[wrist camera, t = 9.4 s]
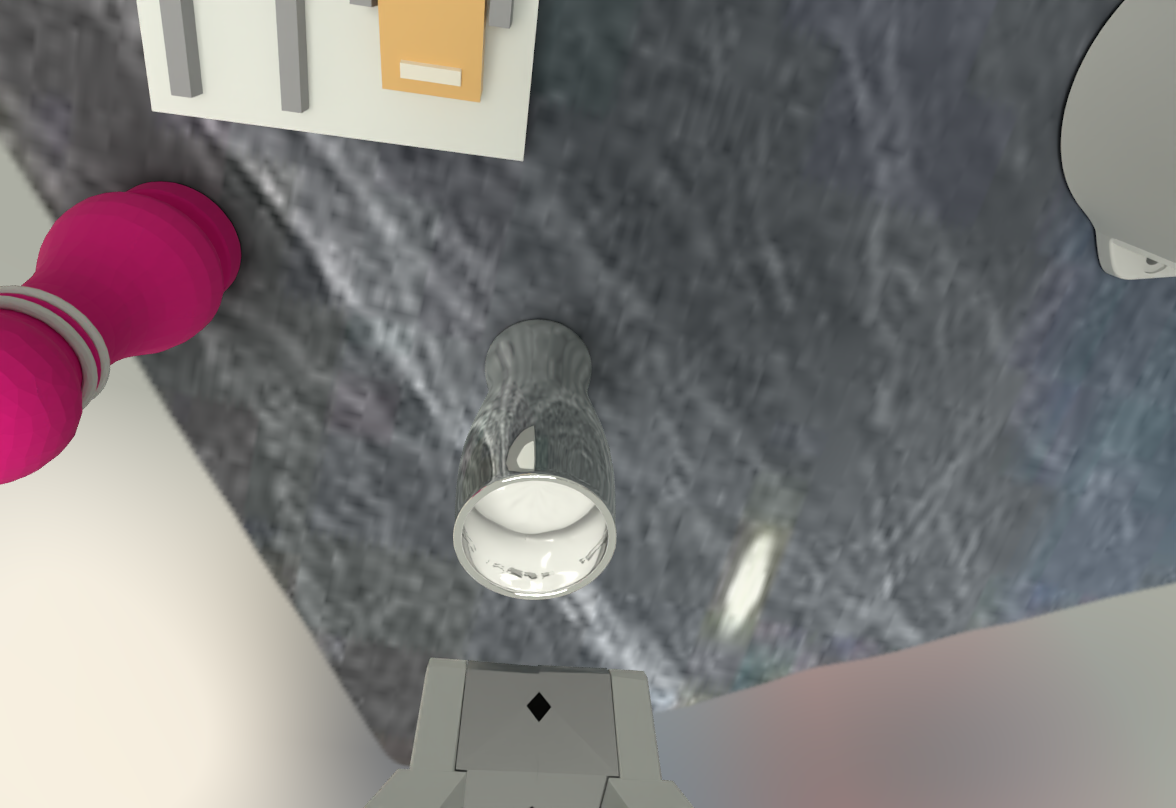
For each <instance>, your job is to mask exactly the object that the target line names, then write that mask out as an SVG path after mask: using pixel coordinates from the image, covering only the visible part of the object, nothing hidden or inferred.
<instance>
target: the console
mask: <svg viewBox="0 0 1176 808" xmlns="http://www.w3.org/2000/svg"><path fill="white" fill-rule="evenodd" d="M538 5H539V0H487V13H486V33H485V53H484V74H483V91H482V96H481V101H480V102H473V101H466V100H459V99H452V98H445V97H438V96H431V95H424V94H417V93H410V92H403V91H396V90H389V89H382V74H381V54H380V34H379V14H378V0H137V7H138V14H139V21H140V28H141V35H142V42H143V50H144V57H145V64H146V71H147V78H148V85H149V92H150V99H151V106H152V111H156V112H164V113H171V114H179V115H186V116H193V117H201V118H208V119H215V120H223V121H230V122H237V123H245V124H252V125H260V126H267V127H274V128H282V129H289V130H296V131H304V132H311V133H319V134H326V135H333V136H341V137H348V138H355V139H363V140H370V141H377V142H385V143H392V144H400V145H407V146H414V147H422V148H429V149H436V150H444V151H451V152H459V153H466V154H473V155H481V156H488V157H495V158H503V159H510V160H517V161H523V157H524V148H525V138H526V128H527V118H528V108H529V97H530V87H531V77H532V67H533V56H534V46H535V36H536V26H537V15H538Z"/></svg>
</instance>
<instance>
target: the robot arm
mask: <svg viewBox="0 0 1176 808" xmlns="http://www.w3.org/2000/svg"><path fill="white" fill-rule="evenodd" d="M1061 157H1062V165H1063V171H1064V174H1065V178H1066V181H1067V184H1068V187H1069V189H1070V191H1071V193H1072V195H1073V197H1074V199H1075V200H1076V202H1077V203H1078V205H1079V206H1080V207H1081V209H1082V210H1083V211H1084V212H1085V214H1086V215H1087V216H1088V218H1089V219H1090V221H1091V222H1092V224H1093V226H1094V228H1095V230H1096V240H1097V249H1098V256H1099V261H1100V264H1101V266H1102V269H1103V270H1104V271H1105V272H1106V273H1108V274H1110V275H1112V276H1115V277H1118V278H1121V279H1126V280H1133V279H1147V278H1162V277H1176V0H1125V1H1124V2H1123V3H1122V4H1121V5H1120V6H1119V8H1118V9H1117V10H1116V11H1115V12H1114V14H1113V15H1112V16H1111V17H1110V19H1109V20H1108V21H1107V23H1106V24H1105V25H1104V27H1103V28H1102V30H1101V31H1100V33H1099V34H1098V36H1097V37H1096V39H1095V40H1094V42H1093V44H1092V45H1091V47H1090V49H1089V50H1088V52H1087V54H1086V56H1085V58H1084V60H1083V62H1082V64H1081V66H1080V68H1079V70H1078V72H1077V75H1076V77H1075V80H1074V82H1073V85H1072V88H1071V91H1070V94H1069V97H1068V100H1067V104H1066V108H1065V112H1064V117H1063V124H1062V132H1061ZM1147 258H1148V259H1147ZM466 668H467V671H466ZM364 808H694V807H693V806H692V804H691V803H690V802H689V801H688V799H687V798H686V797H685V796H684V794H683V793H682V792H681V790H680V789H679V788H678V787H677V785H676V784H675V783H674V782H673V781H669V780H662V776H661V769H660V762H659V755H658V748H657V741H656V734H655V727H654V720H653V713H652V706H651V699H650V692H649V685H648V679H647V676H646V674H645V673H644V671H634V670H617V669H609V670H607V668H593V667H571V666H549V665H538V666H529V665H517V664H505V663H494V662H482V661H471V660H468V663H467V660H455V659H441V658H430V660H429V663H428V666H427V669H426V675H425V681H424V687H423V693H422V699H421V704H420V710H419V716H418V722H417V728H416V734H415V739H414V745H413V751H412V757H411V763H410V768H409V769H397V771H396V772H395V773H394V774H393V775H392V776H391V778H389V780H388V781H387V782H386V783H385V784H384V785H383V787H382V788H381V789H380V790H379V791H378V792H377V793H376V794H375V795H374V796H373V798H372V799H371V800H370V801H369V802H368V803H367V804H366V806H365V807H364Z"/></svg>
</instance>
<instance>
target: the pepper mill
mask: <svg viewBox="0 0 1176 808" xmlns="http://www.w3.org/2000/svg"><path fill="white" fill-rule="evenodd" d="M240 262H241V248H240V242H239V239H238V237H237V234H236V231H235V229H234V227H233V225H232V223H231V222H230V220H229V219H228V218H227V216H226V215H225V214H224V212H223V211H222V210H221V209H220V208H219V207H218V206H217V205H216V204H215V203H214V202H212V201H211V200H210V199H209V198H208V197H206V196H205V195H203V194H201V193H200V192H198V191H196V190H194V189H192V188H189V187H187V186H184V185H181V184H177V183H172V182H163V181H159V182H148V183H144V184H141V185H138V186H135V187H134V188H132V189H130V190H128V191H126V192H110V193H104V194H100V195H96V196H92V197H89V198H87V199H85V200H83V201H81V202H79V203H77V204H76V205H75V206H73V207H72V208H70V209H69V210H68V211H66V212H65V213H64V214H63V215H62V216H61V217H60V218H59V219H58V220H56V221H55V223H54V224H53V226H52V228H51V229H50V231H49V232H48V234H47V235H46V237H45V239H44V241H43V243H42V246H41V248H40V252H39V255H38V259H37V265H36V272H35V273H34V274H33V276H32V277H31V278H30V279H29V280H27V281H26V282H25V283H24V284H23V285H21V286H16V285H14V286H13V285H12V286H0V484H5V483H9V482H12V481H14V480H17V479H20V478H22V477H25V476H27V475H29V474H31V473H33V472H35V471H37V470H39V469H40V468H42V467H43V466H44V465H45V464H47V463H48V462H49V461H51V460H52V459H54V458H55V457H56V456H58V455H59V454H60V453H61V452H62V451H63V449H64V448H65V447H66V446H67V445H68V444H69V442H70V441H71V440H72V438H73V437H74V436H75V433H76V430H77V427H78V424H79V421H80V418H81V414H82V410H83V409H84V408H85V407H86V406H87V405H88V404H89V402H90V401H91V400H92V399H94V398H95V397H96V396H97V395H98V394H99V393H100V392H101V391H102V390H103V389H104V387H105V385H106V383H107V380H108V377H109V373H110V365H111V364H113V363H114V362H116V361H118V360H121V359H123V358H127V357H132V356H138V355H145V354H152V353H158V352H161V351H164V350H167V349H169V348H172V347H174V346H177V345H179V344H181V343H184V342H186V341H187V340H189V339H190V338H192V337H193V336H194V335H196V334H197V333H198V332H199V331H201V330H202V329H203V328H204V327H205V326H206V325H207V324H208V323H209V322H210V321H211V320H212V319H213V317H214V316H215V314H216V312H217V310H218V308H219V306H220V304H221V300H222V296H223V292H224V291H225V290H227V289H228V288H229V286H230V285H231V284H232V283H233V281H234V280H235V278H236V276H237V273H238V271H239V268H240Z"/></svg>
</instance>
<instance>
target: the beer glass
mask: <svg viewBox="0 0 1176 808" xmlns="http://www.w3.org/2000/svg"><path fill="white" fill-rule="evenodd" d="M591 372H592V365H591V358H590V354H589V352H588V349H587V347H586V346H585V344H584V342H583V341H582V340H581V338H580V337H579V336H578V335H577V334H576V333H575V332H573V331H572V330H571V329H569V328H568V327H566V326H564V325H562V324H559V323H557V322H554V321H549V320H541V319H534V320H527V321H522V322H519V323H516V324H514V325H512V326H510V327H508V328H507V329H505V330H504V331H502V332H501V333H500V334H499V335H498V336H497V337H496V338H495V340H494V341H493V342H492V344H491V346H490V347H489V349H488V352H487V355H486V359H485V377H486V382H487V386H488V394H487V396H486V398H485V400H484V402H483V404H482V406H481V407H480V409H479V411H478V413H477V415H476V417H475V419H474V421H473V423H472V426H471V428H470V431H469V433H468V436H467V438H466V441H465V444H464V447H463V451H462V455H461V460H460V464H459V469H458V478H457V486H456V502H455V525H454V531H453V542H454V548H455V552H456V555H457V557H458V559H459V561H460V563H461V565H462V566H463V568H464V569H465V570H466V571H467V573H468V574H469V575H470V576H471V577H472V578H474V579H475V580H476V581H477V582H479V583H480V584H481V585H483V586H485V587H486V588H488V589H490V590H492V591H494V592H497V593H499V594H502V595H505V596H509V597H513V598H518V599H528V600H541V599H550V598H556V597H560V596H564V595H567V594H570V593H572V592H575V591H577V590H579V589H581V588H583V587H584V586H586V585H588V584H589V583H590V582H592V581H593V580H594V579H596V578H597V577H598V576H599V575H600V574H601V573H602V572H603V570H604V569H605V568H606V567H607V565H608V564H609V562H610V560H611V558H612V556H613V553H614V550H615V546H616V539H617V532H616V525H615V515H616V500H615V480H614V469H613V464H612V459H611V453H610V448H609V445H608V442H607V439H606V436H605V433H604V430H603V428H602V425H601V423H600V421H599V418H598V416H597V414H596V412H595V410H594V408H593V406H592V404H591V401H590V399H589V397H588V394H587V390H588V386H589V383H590V379H591Z"/></svg>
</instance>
